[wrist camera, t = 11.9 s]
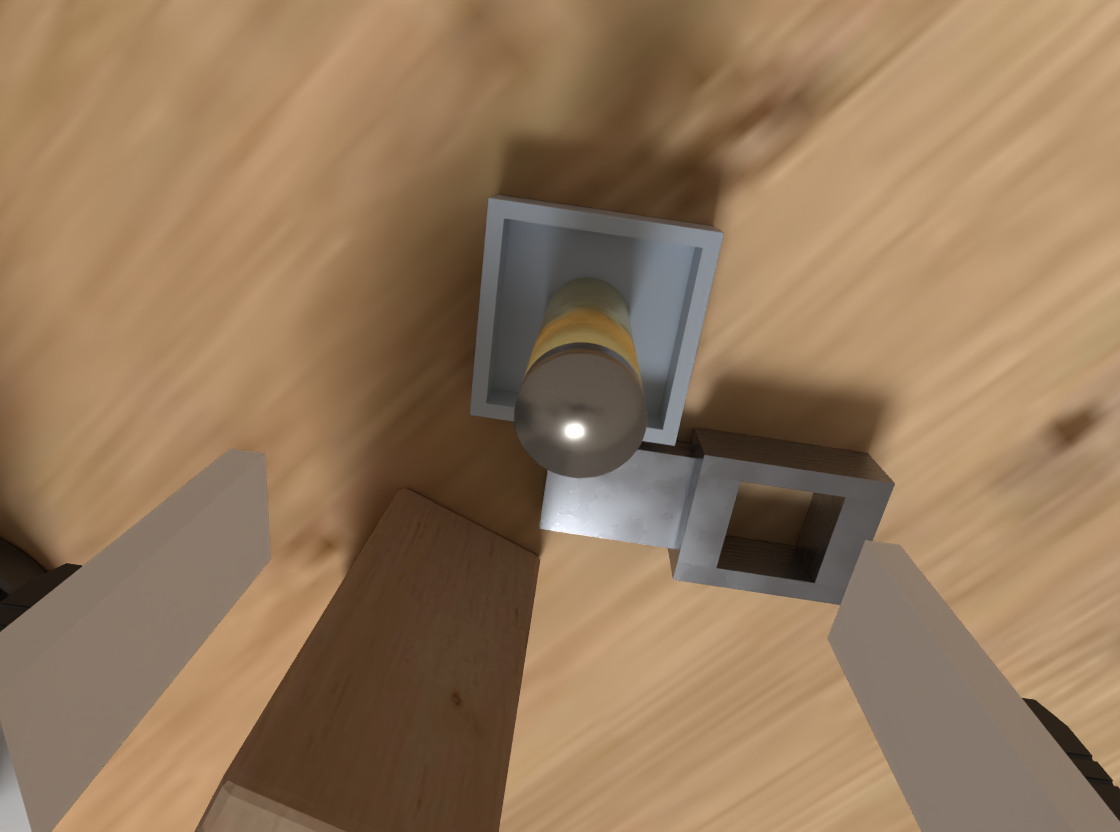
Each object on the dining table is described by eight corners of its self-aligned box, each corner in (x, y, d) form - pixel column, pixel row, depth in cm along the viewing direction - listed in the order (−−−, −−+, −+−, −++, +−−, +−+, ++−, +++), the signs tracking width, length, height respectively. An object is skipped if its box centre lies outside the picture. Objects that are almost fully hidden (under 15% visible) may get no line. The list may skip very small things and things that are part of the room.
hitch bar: (540, 524, 39) (534, 558, 36) (557, 406, 36) (552, 432, 33) (826, 567, 39) (846, 605, 36) (867, 453, 36) (894, 483, 33)
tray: (479, 395, 36) (469, 415, 33) (498, 194, 32) (488, 198, 29) (669, 423, 36) (674, 445, 33) (713, 226, 32) (723, 232, 29)
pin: (540, 352, 34) (507, 467, 22) (551, 271, 32) (522, 345, 20) (620, 364, 34) (633, 487, 22) (635, 284, 32) (659, 366, 20)
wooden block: (543, 555, 40) (494, 896, 22) (473, 657, 44) (379, 1024, 25) (402, 482, 39) (220, 779, 20) (342, 593, 42) (140, 933, 24)
